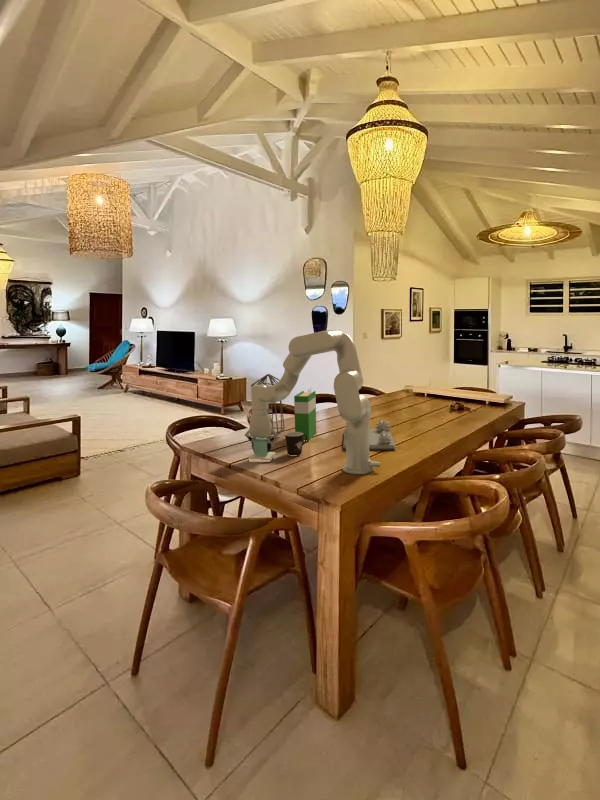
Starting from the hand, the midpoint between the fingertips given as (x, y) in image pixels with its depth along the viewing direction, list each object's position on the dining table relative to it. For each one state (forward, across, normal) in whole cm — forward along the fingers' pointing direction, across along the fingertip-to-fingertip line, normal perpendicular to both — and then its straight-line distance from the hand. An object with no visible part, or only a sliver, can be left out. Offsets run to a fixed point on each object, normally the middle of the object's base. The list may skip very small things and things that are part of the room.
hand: (261, 450), depth 207 cm
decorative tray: (+5, -48, -36) cm, 60 cm away
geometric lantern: (+4, +5, -38) cm, 39 cm away
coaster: (+4, 0, 0) cm, 4 cm away
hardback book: (+4, -14, -41) cm, 44 cm away
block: (+1, 0, 0) cm, 1 cm away
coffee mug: (+4, -15, -9) cm, 18 cm away
